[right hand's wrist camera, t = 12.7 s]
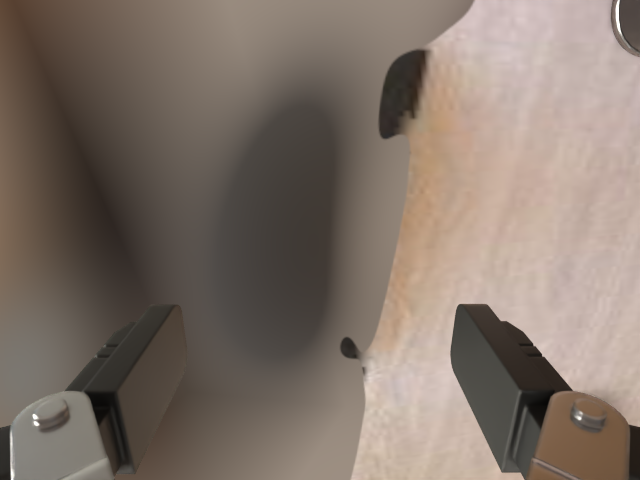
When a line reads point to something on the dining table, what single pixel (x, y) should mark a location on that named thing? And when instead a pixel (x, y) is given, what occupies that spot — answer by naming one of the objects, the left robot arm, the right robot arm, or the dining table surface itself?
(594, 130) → the dining table surface
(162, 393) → the right robot arm
